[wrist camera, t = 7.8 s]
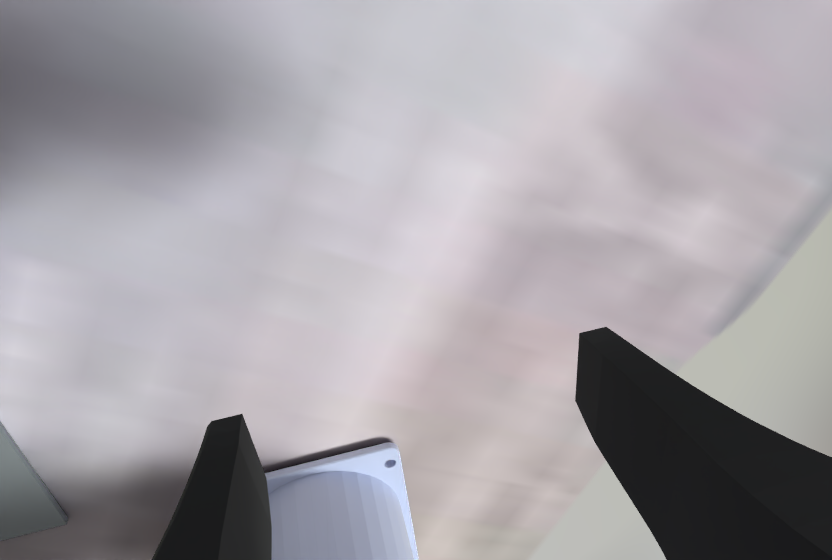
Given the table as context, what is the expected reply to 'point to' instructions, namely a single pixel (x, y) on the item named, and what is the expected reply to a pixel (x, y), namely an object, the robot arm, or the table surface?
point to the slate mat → (23, 495)
